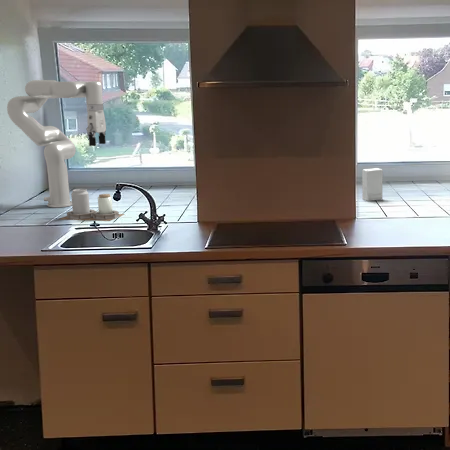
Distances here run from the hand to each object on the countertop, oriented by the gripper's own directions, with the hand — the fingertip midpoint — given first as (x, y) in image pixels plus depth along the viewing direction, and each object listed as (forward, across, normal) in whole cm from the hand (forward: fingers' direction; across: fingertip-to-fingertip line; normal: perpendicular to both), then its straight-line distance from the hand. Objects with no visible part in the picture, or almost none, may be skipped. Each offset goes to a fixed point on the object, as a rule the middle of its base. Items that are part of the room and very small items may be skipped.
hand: (97, 144), depth 316 cm
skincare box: (+31, +38, -125) cm, 134 cm away
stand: (+30, -27, -9) cm, 42 cm away
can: (+29, -27, -4) cm, 40 cm away
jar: (+29, -27, -16) cm, 43 cm away
